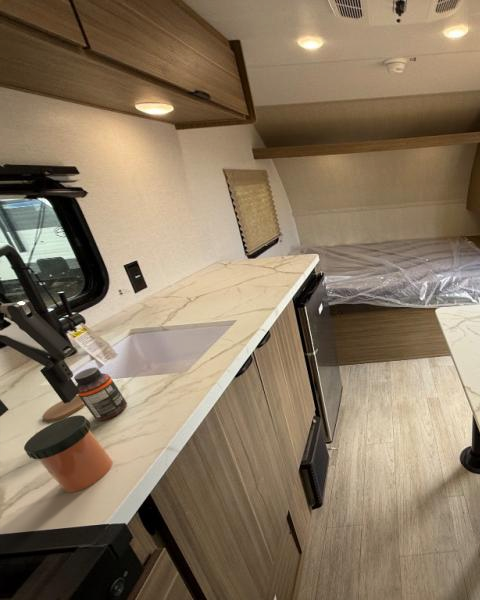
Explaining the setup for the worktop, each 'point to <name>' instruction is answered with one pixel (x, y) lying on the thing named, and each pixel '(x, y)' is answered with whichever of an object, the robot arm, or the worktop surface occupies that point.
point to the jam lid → (57, 437)
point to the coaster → (63, 409)
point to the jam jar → (79, 464)
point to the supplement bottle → (99, 394)
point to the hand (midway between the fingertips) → (36, 406)
